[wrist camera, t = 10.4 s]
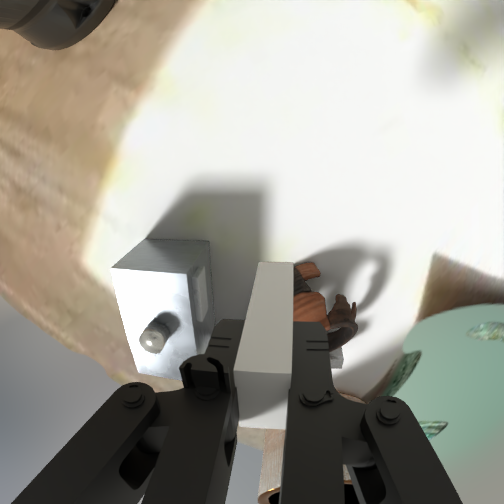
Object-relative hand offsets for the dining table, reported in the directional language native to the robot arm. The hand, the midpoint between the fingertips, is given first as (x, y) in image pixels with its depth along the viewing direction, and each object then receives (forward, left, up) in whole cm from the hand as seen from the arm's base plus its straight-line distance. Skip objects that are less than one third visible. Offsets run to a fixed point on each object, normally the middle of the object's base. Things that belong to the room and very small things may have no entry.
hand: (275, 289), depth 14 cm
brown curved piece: (+12, +2, -19) cm, 23 cm away
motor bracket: (+12, -4, -19) cm, 23 cm away
